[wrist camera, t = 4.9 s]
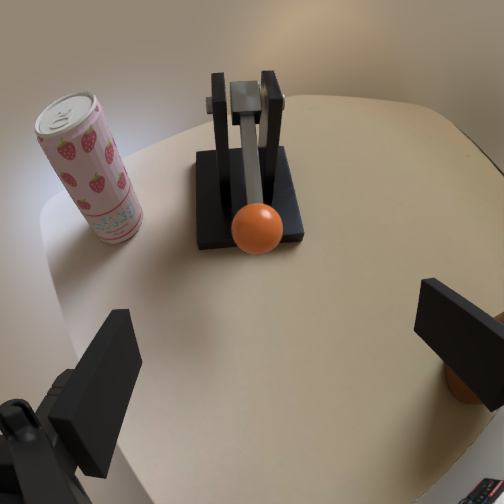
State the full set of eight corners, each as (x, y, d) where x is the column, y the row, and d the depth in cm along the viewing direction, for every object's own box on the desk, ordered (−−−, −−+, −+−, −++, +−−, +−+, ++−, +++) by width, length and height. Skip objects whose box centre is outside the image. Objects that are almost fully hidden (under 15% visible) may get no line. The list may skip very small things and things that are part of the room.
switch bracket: (302, 241, 31) (332, 132, 19) (198, 250, 30) (172, 140, 18) (282, 154, 37) (294, 51, 25) (197, 160, 36) (182, 56, 24)
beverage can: (104, 254, 30) (34, 149, 17) (89, 216, 32) (30, 113, 19) (152, 227, 31) (106, 109, 18) (133, 192, 34) (90, 81, 21)
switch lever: (281, 253, 24) (289, 250, 21) (233, 257, 24) (233, 255, 20) (264, 98, 25) (268, 75, 21) (221, 101, 25) (220, 78, 21)
